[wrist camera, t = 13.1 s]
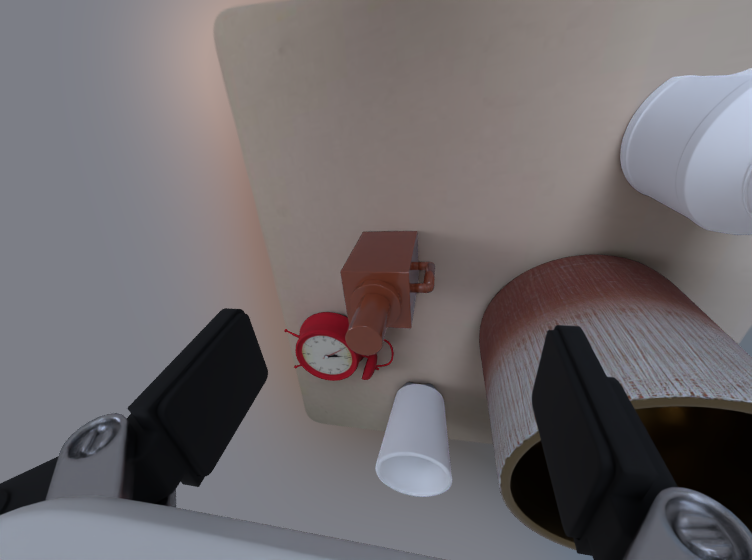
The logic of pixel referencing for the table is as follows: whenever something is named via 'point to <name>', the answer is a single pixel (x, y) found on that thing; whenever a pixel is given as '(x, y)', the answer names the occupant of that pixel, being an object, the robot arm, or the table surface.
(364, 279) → the brown handled box
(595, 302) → the planter
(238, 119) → the table surface
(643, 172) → the jar
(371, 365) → the alarm clock
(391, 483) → the cup
